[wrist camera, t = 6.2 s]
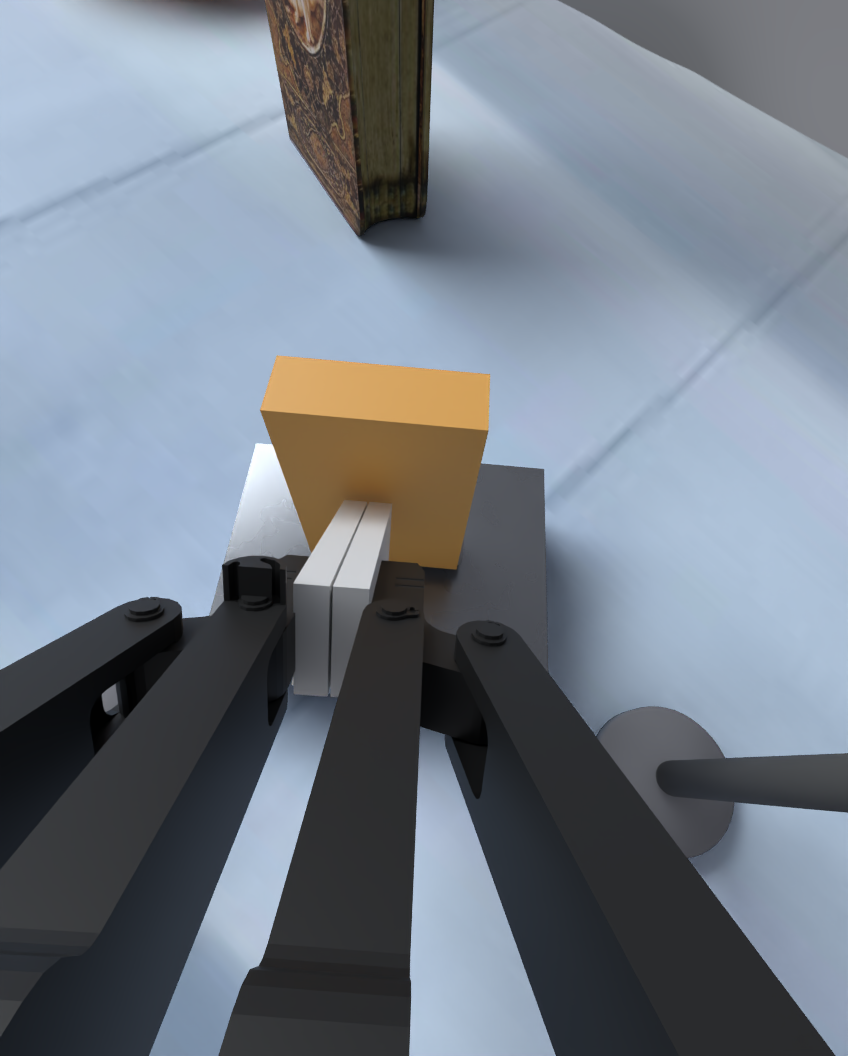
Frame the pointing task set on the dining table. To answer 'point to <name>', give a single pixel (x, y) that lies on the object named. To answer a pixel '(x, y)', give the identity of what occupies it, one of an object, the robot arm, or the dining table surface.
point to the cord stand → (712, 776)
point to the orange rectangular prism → (381, 448)
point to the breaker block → (449, 595)
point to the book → (359, 99)
